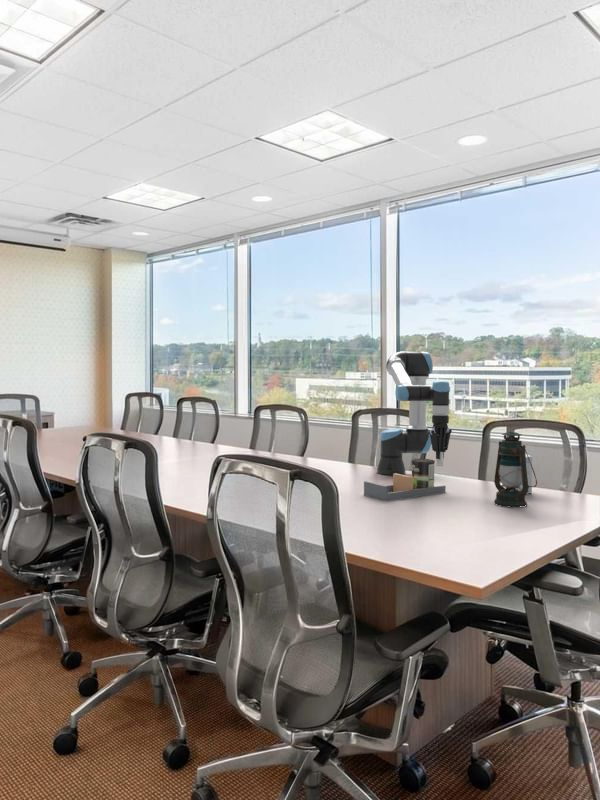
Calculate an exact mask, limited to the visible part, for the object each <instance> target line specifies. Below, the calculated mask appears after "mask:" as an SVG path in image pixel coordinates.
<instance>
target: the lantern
mask: <svg viewBox="0 0 600 800" xmlns="http://www.w3.org/2000/svg"><path fill="white" fill-rule="evenodd" d="M501 435H503V439H502V440H501V441H500V440H499V442H498V449H497V450H498V451H497V457H496V464H495V465H496V466H495V473H494V482H493V483H494V486H495V488H496V490H497V492H496V495H495V499H494V502H493V504H494V503H495V504H494V505H496V504H497V505H496V506H498V505H501V506H500V507H503V506H510V507H509V508H514V507H515V508H521V507H520V506H525V505H527V506H528V504H527V503H528V502H527V500H526V495H528V494H527V492H528V488H529V487H532V488H535V487H537V484H538V480H537V476H536V473H535V470H534V467H533V463H532V464H531V462H530V464H531V467H532V474H533V475H534V478H535V485H532V486H528V478H527V468H526V455H525V454H527V456H528V455H529V454H528V453H527V449H526V447H527V446H526V445H525V444H523V445H522V440H520V438H521V436H523V434H521V433H519V432H513V431H508V432H504V433H501ZM528 459H529V457H528ZM529 461H530V459H529ZM521 483H522V484H521ZM520 484H521V485H523V489H520V488H519V487H520V486H519V485H520ZM515 488H519V489H520V490H521V491H518V490H516V489H515Z"/></svg>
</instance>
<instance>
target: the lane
mask: <svg viewBox="0 0 600 800" xmlns="http://www.w3.org/2000/svg"><path fill="white" fill-rule="evenodd" d="M443 493H446V485H436V486H435V485H434V487H427V488H420V489H413V490H405V491H398V492H393V484H387V485H384V484H380V483H374V482H371V481H367V480H366V481H365V480H364V481H363V496H367V497H370V498H374V499H378V500H381V501H385V502H389V501H395V500H401V499H409V498H410V499H411V498H416V497H422V496H429V495H437V494H443Z"/></svg>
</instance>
